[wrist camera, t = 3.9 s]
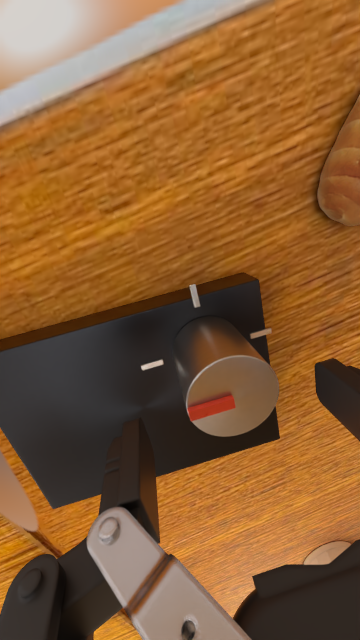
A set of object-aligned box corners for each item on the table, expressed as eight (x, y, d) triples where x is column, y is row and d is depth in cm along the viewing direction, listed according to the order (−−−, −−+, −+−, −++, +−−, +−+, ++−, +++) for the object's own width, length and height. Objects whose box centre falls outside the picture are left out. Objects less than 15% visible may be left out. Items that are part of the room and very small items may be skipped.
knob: (234, 307, 16) (277, 346, 11) (244, 367, 18) (287, 426, 13) (164, 327, 16) (176, 376, 11) (181, 386, 17) (198, 453, 12)
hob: (246, 259, 18) (263, 265, 15) (269, 416, 23) (285, 439, 20) (-24, 333, 17) (-52, 352, 14) (62, 479, 22) (52, 511, 20)
